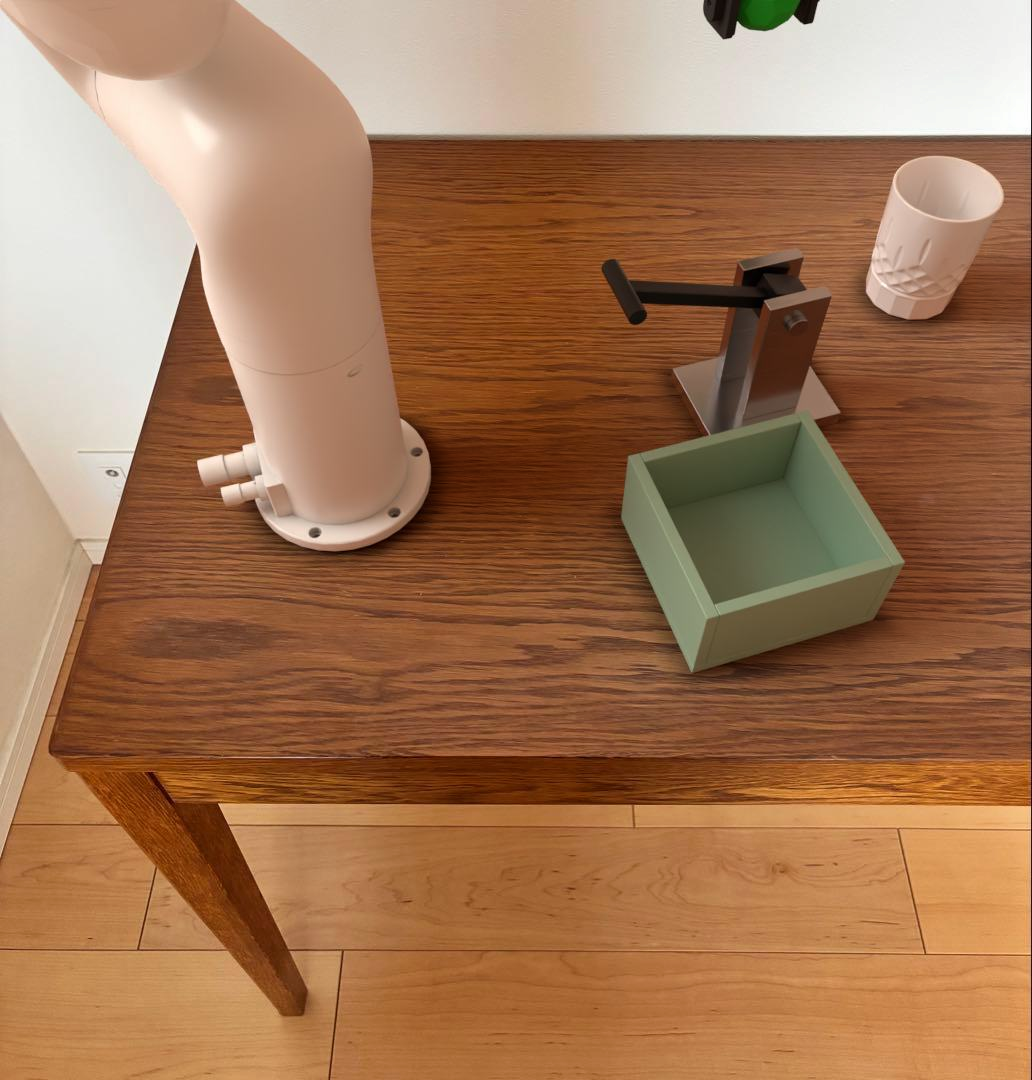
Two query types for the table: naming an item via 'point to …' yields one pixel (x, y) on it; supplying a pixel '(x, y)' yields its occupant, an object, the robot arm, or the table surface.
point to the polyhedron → (765, 13)
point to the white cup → (930, 234)
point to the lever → (693, 292)
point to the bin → (755, 539)
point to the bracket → (762, 357)
